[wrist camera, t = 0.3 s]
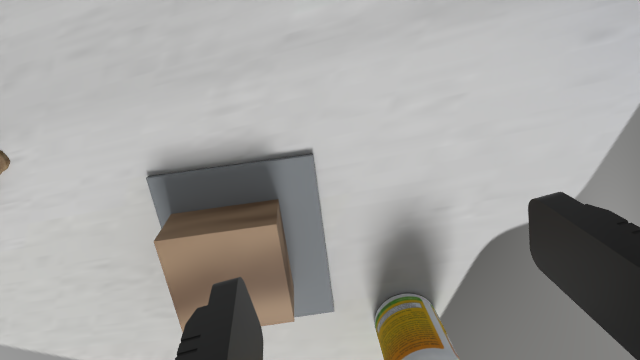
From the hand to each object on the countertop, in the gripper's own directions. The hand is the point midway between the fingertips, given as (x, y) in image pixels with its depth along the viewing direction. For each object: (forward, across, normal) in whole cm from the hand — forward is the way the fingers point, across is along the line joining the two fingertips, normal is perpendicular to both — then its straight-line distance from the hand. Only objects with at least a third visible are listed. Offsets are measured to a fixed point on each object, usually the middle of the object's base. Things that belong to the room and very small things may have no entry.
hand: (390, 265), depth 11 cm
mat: (+19, +8, +9) cm, 22 cm away
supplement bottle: (+18, -3, +19) cm, 27 cm away
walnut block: (+18, +9, +9) cm, 22 cm away
